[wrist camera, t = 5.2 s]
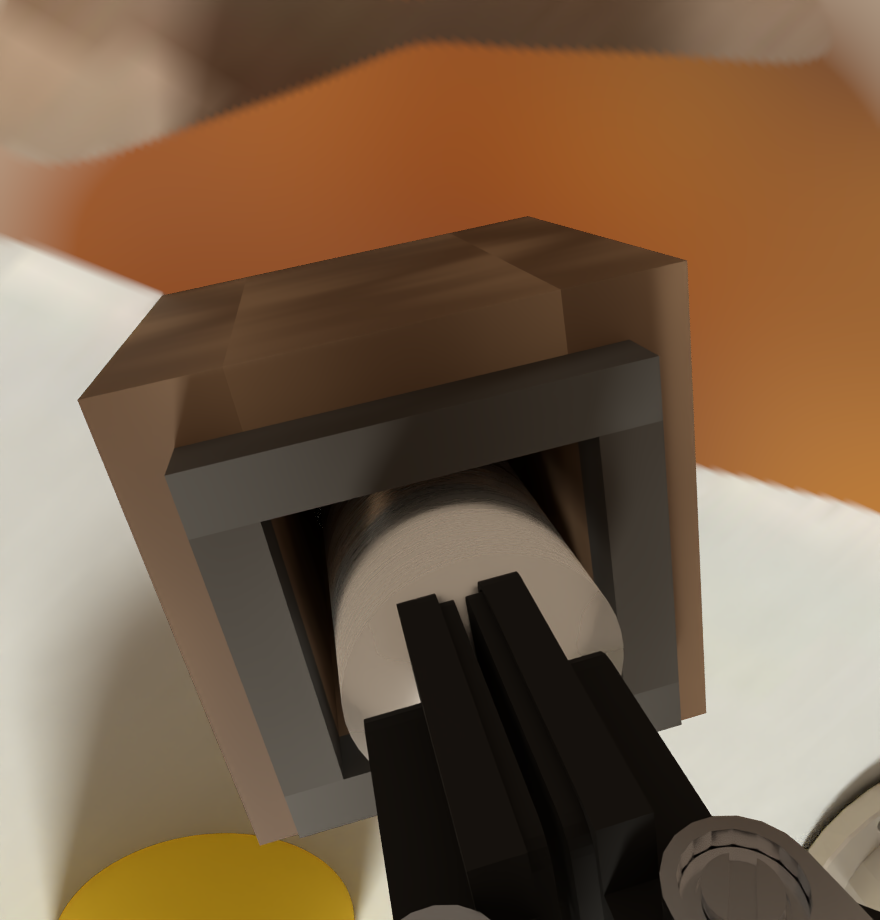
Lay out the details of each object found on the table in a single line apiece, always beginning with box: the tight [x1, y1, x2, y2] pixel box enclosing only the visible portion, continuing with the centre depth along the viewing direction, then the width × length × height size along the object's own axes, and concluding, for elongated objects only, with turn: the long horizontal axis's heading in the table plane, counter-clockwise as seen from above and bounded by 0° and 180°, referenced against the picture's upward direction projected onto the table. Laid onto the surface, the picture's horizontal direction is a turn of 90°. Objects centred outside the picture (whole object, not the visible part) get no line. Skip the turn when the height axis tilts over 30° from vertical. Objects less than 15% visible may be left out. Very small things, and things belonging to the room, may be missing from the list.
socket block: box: [78, 216, 706, 846], centre depth 16 cm, size 9×9×9 cm
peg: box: [321, 460, 624, 760], centre depth 14 cm, size 4×4×8 cm
